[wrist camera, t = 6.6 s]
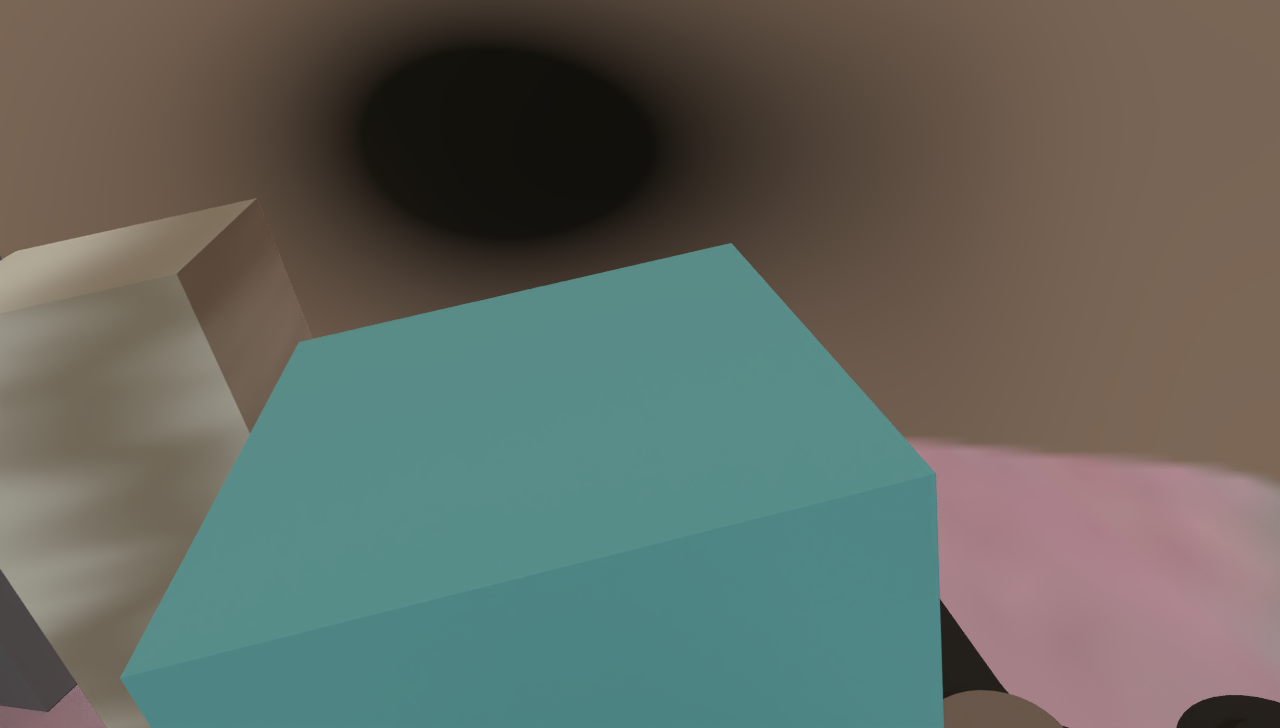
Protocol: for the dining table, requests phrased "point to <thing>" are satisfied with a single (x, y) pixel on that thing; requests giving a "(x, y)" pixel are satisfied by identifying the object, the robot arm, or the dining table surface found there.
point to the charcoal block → (27, 658)
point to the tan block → (129, 418)
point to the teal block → (563, 527)
